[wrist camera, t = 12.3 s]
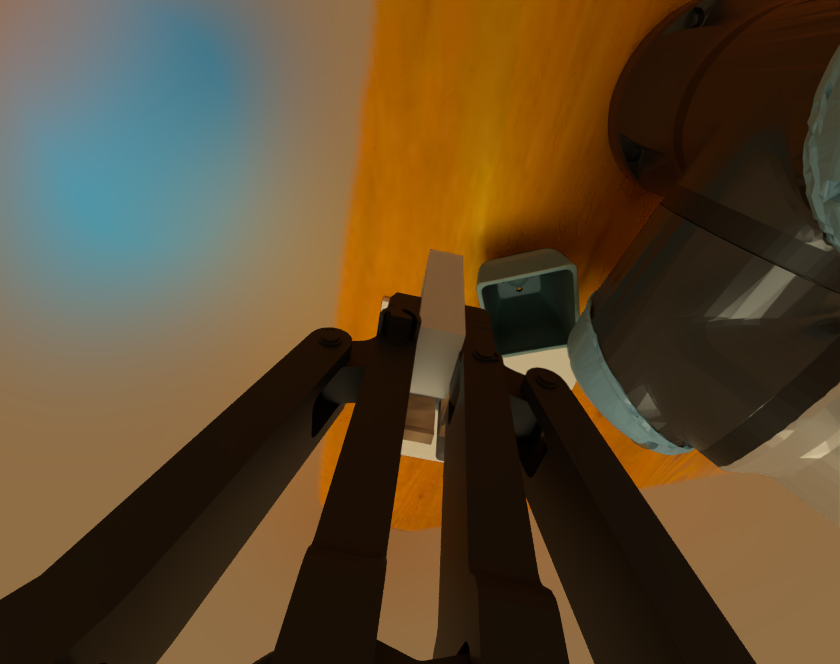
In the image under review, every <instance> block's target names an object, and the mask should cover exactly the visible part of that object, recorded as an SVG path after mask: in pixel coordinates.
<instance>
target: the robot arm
mask: <svg viewBox="0 0 840 664" xmlns="http://www.w3.org/2000/svg"><path fill="white" fill-rule="evenodd" d="M608 136H609V143H610V147H611V151H612V154H613V156H614V159H615V161H616V163H617V164H618V166H619V168H620V169H621V170H622V172H623V173H624V174H625V175H626V176H627V177H628V178H629V179H630V180H631V181H633V182H634V183H636V184H637V185H639V186H641V187H643V188H644V189H646V190H648V191H650V192H652V193H655V194H658V195H661V196H665V198H664V199H663V201H662V202H661V203H660V204H659V206H658V207H657V208H656V210H655V211H654V212H653V214H652V215H651V217H650V218H649V219H648V221H647V222H646V224H645V225H644V226H643V228H642V229H641V231H640V232H639V233H638V235H637V236H636V238H635V239H634V240H633V242H632V243H631V245H630V246H629V247H628V249H627V250H626V252H625V253H624V254H623V256H622V257H621V259H620V260H619V261H618V263H617V264H616V266H615V267H614V268H613V270H612V271H611V273H610V274H609V275H608V277H607V278H606V280H605V281H604V282H603V284H602V285H601V287H600V288H599V289H598V290H597V291H594V292H593V293H592V295H591V296H590V298H589V299H588V301H587V305H586V308H585V310H584V311H583V313H582V314H581V316H580V318H579V319H578V321H577V322H576V324H575V326H574V327H573V329H572V330H571V332H570V335H569V338H568V342H567V352H568V357H569V359H570V367H571V369H572V372H573V374H574V376H575V378H576V380H577V382H578V384H579V385H580V387H581V389H582V390H583V392H584V393H585V395H586V396H587V397H588V399H589V400H590V401H591V402H592V404H593V405H594V406H595V407H596V408H597V409H598V411H599V412H600V413H601V414H602V415H603V416H604V417H605V418H606V419H607V420H608V421H609V422H610V423H611V424H612V425H614V426H615V427H616V428H617V429H618V430H620V431H621V432H622V433H623V434H625V435H626V436H628V437H629V438H630V439H632V440H634V441H635V442H637V443H639V444H642V443H645V444H646V445H647V446H648V447H649V449H650V450H652V451H655V452H658V453H661V454H666V455H677V454H681V453H687V452H691V451H692V450H693V449H694V448H695V449H697V450H698V451H699V452H700V453H702V454H703V455H704V456H705V457H707V458H708V459H709V460H710V461H712V462H713V463H714V464H715V465H717V466H718V467H719V468H720V469H722V470H723V471H730V472H744V473H759V474H763V475H766V476H770V477H772V478H773V479H775V480H776V481H777V482H779V483H780V484H781V485H783V486H784V487H785V488H787V489H788V490H789V491H791V492H792V493H793V494H794V495H796V496H797V497H798V498H800V499H801V500H802V501H803V502H805V503H806V504H807V505H809V506H810V507H811V508H813V509H814V510H815V511H817V512H818V513H819V514H820V515H822V516H823V517H824V518H826V519H827V520H828V521H830V522H831V523H832V524H834V525H835V526H836V527H837V528H839V529H840V0H692V1H690V2H689V3H687V4H685V5H683V6H682V7H680V8H678V9H677V10H676V11H674V12H673V13H671V14H670V15H669V16H667V17H666V18H665V19H664V20H663V21H661V22H660V23H659V24H658V25H657V26H656V27H655V28H654V29H653V30H652V31H651V32H650V33H649V34H648V35H647V36H646V37H645V38H644V40H643V41H642V42H641V43H640V45H639V46H638V47H637V49H636V50H635V51H634V53H633V54H632V56H631V57H630V59H629V60H628V62H627V64H626V66H625V67H624V69H623V71H622V73H621V75H620V77H619V80H618V82H617V84H616V87H615V90H614V93H613V96H612V100H611V104H610V110H609V117H608ZM410 392H412V393H417V394H423V395H428V396H433V397H438V398H443V399H447V396H448V392H449V400H448V404H447V407H446V410H445V414H444V417H443V420H442V423H441V425H442V426H444V425H445V444H444V472H443V500H442V528H441V556H440V584H439V612H438V613H439V614H438V630H437V637H436V643H435V648H434V653H433V659H432V660H426V661H418V660H416V659H413V658H411V657H409V656H407V655H406V654H404V653H402V652H400V651H398V650H396V649H394V648H392V647H390V646H388V645H386V644H384V643H383V642H381V641H379V640H377V632H378V625H379V618H380V611H381V604H382V597H383V589H384V582H385V574H386V564H387V559H386V555H387V546H388V539H389V532H390V526H391V519H392V512H393V505H394V498H395V491H396V484H397V477H398V471H399V464H400V457H401V450H402V443H403V436H404V429H405V422H406V415H407V408H408V401H409V395H410ZM346 403H356V404H355V407H354V410H353V414H352V417H351V420H350V423H349V427H348V430H347V433H346V436H345V440H344V443H343V446H342V449H341V453H340V456H339V459H338V462H337V466H336V469H335V472H334V475H333V479H332V482H331V485H330V488H329V492H328V495H327V498H326V501H325V505H324V508H323V511H322V514H321V518H320V521H319V524H318V527H317V531H316V534H315V537H314V540H313V542H312V544H311V545H310V546H309V547H308V549H307V551H306V554H305V556H304V559H303V562H302V565H301V568H300V571H299V574H298V577H297V580H296V583H295V587H294V590H293V593H292V596H291V599H290V602H289V605H288V609H287V612H286V615H285V618H284V621H283V624H282V627H281V631H280V634H279V637H278V640H277V643H276V646H275V650H274V651H273V652H271V653H269V654H267V655H265V656H264V657H262V658H261V659H259V660H257V661H255V662H254V663H253V664H569V659H568V654H567V649H566V643H565V638H564V633H563V628H562V622H561V618H560V612H559V609H558V605H557V601H556V598H555V596H554V595H553V593H552V591H551V590H550V589H548V588H546V587H544V586H543V585H542V583H541V581H540V578H539V574H538V569H537V562H536V557H535V550H534V544H533V538H532V532H531V526H530V520H529V514H528V508H527V502H526V498H527V501H528V503H529V505H530V508H531V510H532V513H533V515H534V517H535V520H536V522H537V525H538V527H539V530H540V532H541V535H542V537H543V539H544V542H545V544H546V547H547V549H548V552H549V554H550V557H551V559H552V561H553V564H554V566H555V569H556V571H557V573H558V576H559V578H560V581H561V583H562V586H563V588H564V591H565V593H566V596H567V598H568V600H569V603H570V605H571V608H572V610H573V613H574V615H575V617H576V620H577V622H578V625H579V627H580V630H581V632H582V635H583V637H584V639H585V642H586V644H587V646H588V649H589V652H590V654H591V657H592V659H593V661H594V664H756V662H755V661H754V660H753V658H752V657H751V655H750V654H749V652H748V651H747V649H746V648H745V646H744V645H743V643H742V642H741V640H740V639H739V637H738V636H737V635H736V633H735V632H734V630H733V629H732V627H731V626H730V624H729V623H728V621H727V620H726V618H725V617H724V615H723V614H722V612H721V611H720V609H719V608H718V607H717V605H716V604H715V602H714V601H713V599H712V597H711V596H710V595H709V593H708V592H707V590H706V589H705V587H704V586H703V585H702V583H701V581H700V580H699V578H698V577H697V575H696V574H695V572H694V571H693V569H692V568H691V566H690V565H689V564H688V562H687V561H686V559H685V558H684V556H683V555H682V553H681V552H680V550H679V549H678V548H677V546H676V544H675V543H674V541H673V540H672V538H671V537H670V536H669V534H668V533H667V531H666V530H665V528H664V527H663V525H662V524H661V522H660V521H659V519H658V518H657V516H656V515H655V513H654V512H653V510H652V509H651V507H650V506H649V504H648V503H647V502H646V500H645V499H644V497H643V496H642V494H641V493H640V491H639V490H638V488H637V487H636V485H635V484H634V482H633V481H632V479H631V478H630V476H629V475H628V473H627V472H626V470H625V469H624V468H623V466H622V465H621V463H620V462H619V460H618V459H617V457H616V456H615V454H614V453H613V451H612V450H611V448H610V447H609V445H608V444H607V442H606V441H605V439H604V438H603V437H602V435H601V434H600V432H599V431H598V429H597V428H596V426H595V425H594V423H593V422H592V420H591V419H590V417H589V416H588V414H587V413H586V411H585V410H584V408H583V407H582V405H581V404H580V403H579V401H578V400H577V398H576V397H575V395H574V394H573V392H572V391H571V389H570V388H569V386H568V385H567V383H566V382H565V381H564V380H563V379H562V377H561V376H559V375H558V374H556V373H555V372H553V371H551V370H548V369H545V368H539V367H536V368H531V369H529V370H527V372H526V375H524V374H521V373H519V372H517V371H514V370H512V369H510V368H508V367H507V366H505V365H504V362H503V358H502V356H501V354H500V353H499V352H498V351H497V350H495V345H494V339H493V332H492V326H491V318H490V316H489V314H488V313H487V312H486V311H485V309H481V308H476V307H471V306H466V305H465V303H464V277H463V256H461V255H456V254H451V253H446V252H441V251H437V250H432V249H430V253H429V258H428V262H427V267H426V272H425V277H424V281H423V286H422V291H421V296H420V297H417V296H412V295H408V294H403V293H398V292H397V293H396V294H394V295H393V296H392V297H390V300H389V303H388V307H387V308H385V309H383V310H382V311H381V312H380V317H379V323H378V330H377V336H376V337H374V338H372V339H369V340H365V341H352V338H351V336H350V335H349V334H348V333H347V332H345V331H343V330H341V329H337V328H321V329H317V330H315V331H313V332H312V333H311V334H309V335H308V336H307V337H306V338H305V339H304V340H303V341H302V342H301V343H299V344H298V345H297V346H296V347H295V348H294V349H293V350H292V351H290V352H289V353H288V354H287V355H286V356H285V357H284V358H283V359H281V360H280V361H279V362H278V363H277V364H276V365H275V366H274V367H273V368H271V369H270V370H269V371H268V372H267V373H266V374H265V375H264V376H262V378H260V379H259V380H258V381H257V382H256V383H255V384H254V385H252V386H251V387H250V388H249V389H248V390H247V391H246V392H245V393H243V395H241V396H240V397H239V398H238V399H237V400H236V401H235V402H234V403H233V404H231V405H230V406H229V407H228V408H227V409H226V410H225V411H223V412H222V413H221V414H220V415H219V416H218V417H217V418H216V419H214V420H213V421H212V422H211V423H210V424H209V425H208V426H207V427H206V428H204V429H203V430H202V431H201V432H200V433H199V434H198V435H197V436H196V437H194V438H193V439H192V440H191V441H190V442H189V443H188V444H187V445H185V446H184V447H183V448H182V449H181V450H180V451H179V452H178V453H177V454H175V455H174V456H173V457H172V458H171V459H170V460H169V461H168V462H166V464H164V465H163V466H162V467H161V468H160V469H159V470H158V471H156V472H155V473H154V474H153V475H152V476H151V477H150V478H149V479H148V480H146V481H145V482H144V483H143V484H142V485H141V486H140V487H139V488H137V489H136V490H135V491H134V492H133V493H132V494H131V495H130V496H129V497H127V498H126V499H125V500H124V501H123V502H122V503H121V504H120V505H118V506H117V507H116V508H115V509H114V510H113V511H112V512H111V513H110V514H108V515H107V516H106V517H105V518H104V519H103V520H102V521H101V522H100V523H98V524H97V525H96V526H95V527H94V528H93V529H92V530H91V531H90V532H88V533H87V534H86V535H85V536H84V537H83V538H82V539H81V540H80V541H78V542H77V543H76V544H75V545H74V546H73V547H72V548H71V549H70V550H68V551H67V552H66V553H65V554H64V555H63V556H62V557H61V558H59V559H58V560H57V561H56V562H55V563H54V564H53V565H52V566H50V567H49V568H48V569H47V570H46V571H45V572H44V573H43V574H42V575H40V576H39V577H37V578H36V579H34V580H32V581H31V582H29V583H27V584H25V585H24V586H22V587H20V588H19V589H17V590H16V591H14V592H12V593H11V594H9V595H7V596H6V597H4V598H2V599H1V600H0V664H156V663H157V661H158V660H159V659H160V658H161V657H162V655H163V654H164V653H165V652H166V650H167V649H168V648H169V646H170V645H171V644H172V643H173V641H174V640H175V639H176V637H177V636H178V634H179V633H180V632H181V630H182V629H183V628H184V626H185V625H186V624H187V622H188V621H189V619H190V618H191V617H192V615H193V614H194V613H195V611H196V610H197V608H198V607H199V606H200V604H201V603H202V602H203V600H204V599H205V598H206V596H207V595H208V593H209V592H210V591H211V589H212V588H213V586H214V585H215V584H216V583H217V581H218V580H219V578H220V577H221V576H222V574H223V573H224V572H225V570H226V569H227V567H228V566H229V565H230V563H231V562H232V561H233V559H234V558H235V557H236V555H237V554H238V552H239V551H240V550H241V548H242V547H243V545H244V544H245V543H246V541H247V540H248V539H249V537H250V536H251V535H252V533H253V532H254V530H255V529H256V528H257V526H258V525H259V524H260V522H261V521H262V520H263V518H264V517H265V515H266V514H267V513H268V511H269V510H270V508H271V507H272V506H273V504H274V503H275V502H276V500H277V499H278V498H279V496H280V495H281V493H282V492H283V491H284V489H285V488H286V487H287V485H288V484H289V482H290V481H291V480H292V478H293V477H294V476H295V474H296V473H297V472H298V470H299V469H300V468H301V466H302V465H303V463H304V462H305V461H306V459H307V458H308V457H309V455H310V454H311V452H312V451H313V450H314V448H315V447H316V446H317V444H318V443H319V442H320V440H321V439H322V437H323V436H324V435H325V433H326V432H327V431H328V429H329V428H330V426H331V425H332V424H333V422H334V421H335V420H336V418H337V417H338V415H339V414H340V413H341V411H342V410H343V409H344V406H345V404H346Z"/></svg>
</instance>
